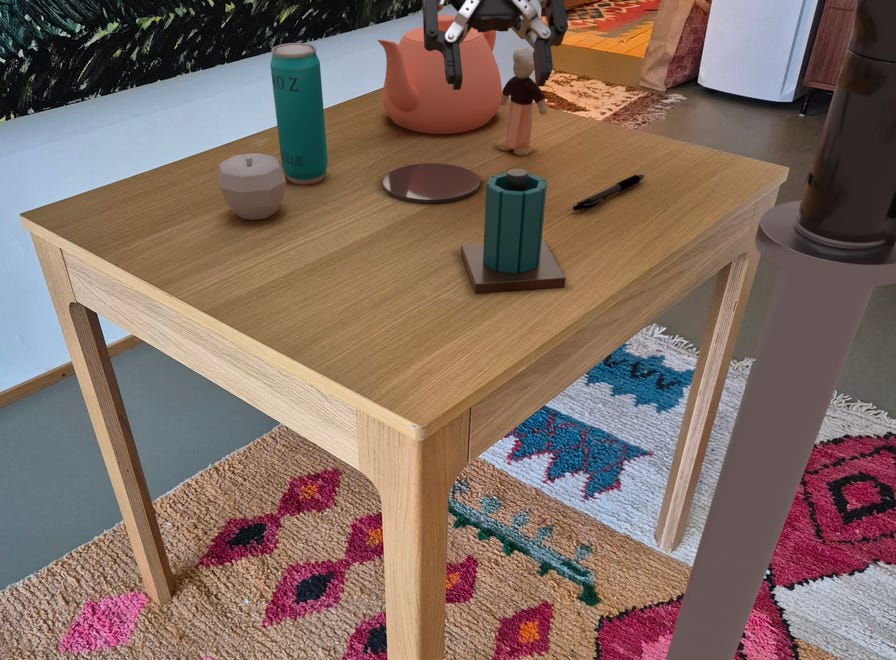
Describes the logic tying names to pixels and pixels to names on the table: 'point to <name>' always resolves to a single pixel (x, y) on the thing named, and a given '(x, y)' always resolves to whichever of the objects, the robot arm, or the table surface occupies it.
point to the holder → (536, 278)
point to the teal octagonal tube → (513, 224)
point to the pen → (607, 192)
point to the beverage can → (299, 112)
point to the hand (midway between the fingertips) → (500, 84)
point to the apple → (252, 185)
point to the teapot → (441, 83)
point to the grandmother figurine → (521, 103)
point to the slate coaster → (431, 183)
